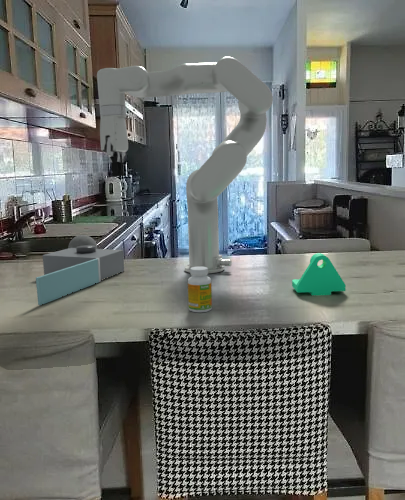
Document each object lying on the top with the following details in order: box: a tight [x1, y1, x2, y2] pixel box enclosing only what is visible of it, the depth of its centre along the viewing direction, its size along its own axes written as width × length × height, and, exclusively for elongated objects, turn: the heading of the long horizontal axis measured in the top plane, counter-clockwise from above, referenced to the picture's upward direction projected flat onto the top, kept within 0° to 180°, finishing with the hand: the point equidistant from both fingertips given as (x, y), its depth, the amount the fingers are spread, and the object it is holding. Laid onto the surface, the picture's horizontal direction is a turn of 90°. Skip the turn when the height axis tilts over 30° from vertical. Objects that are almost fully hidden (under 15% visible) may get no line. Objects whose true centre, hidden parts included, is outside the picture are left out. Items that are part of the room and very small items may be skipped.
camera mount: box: [291, 252, 347, 297], centre depth 122 cm, size 12×8×10 cm, turn 91°
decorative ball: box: [67, 234, 98, 249], centre depth 169 cm, size 10×10×10 cm
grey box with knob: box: [42, 245, 125, 281], centre depth 150 cm, size 20×14×9 cm
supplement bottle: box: [187, 266, 213, 313], centre depth 109 cm, size 5×5×10 cm
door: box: [35, 258, 102, 306], centre depth 128 cm, size 26×1×7 cm, turn 158°
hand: (118, 175), depth 144 cm, fingers closed
